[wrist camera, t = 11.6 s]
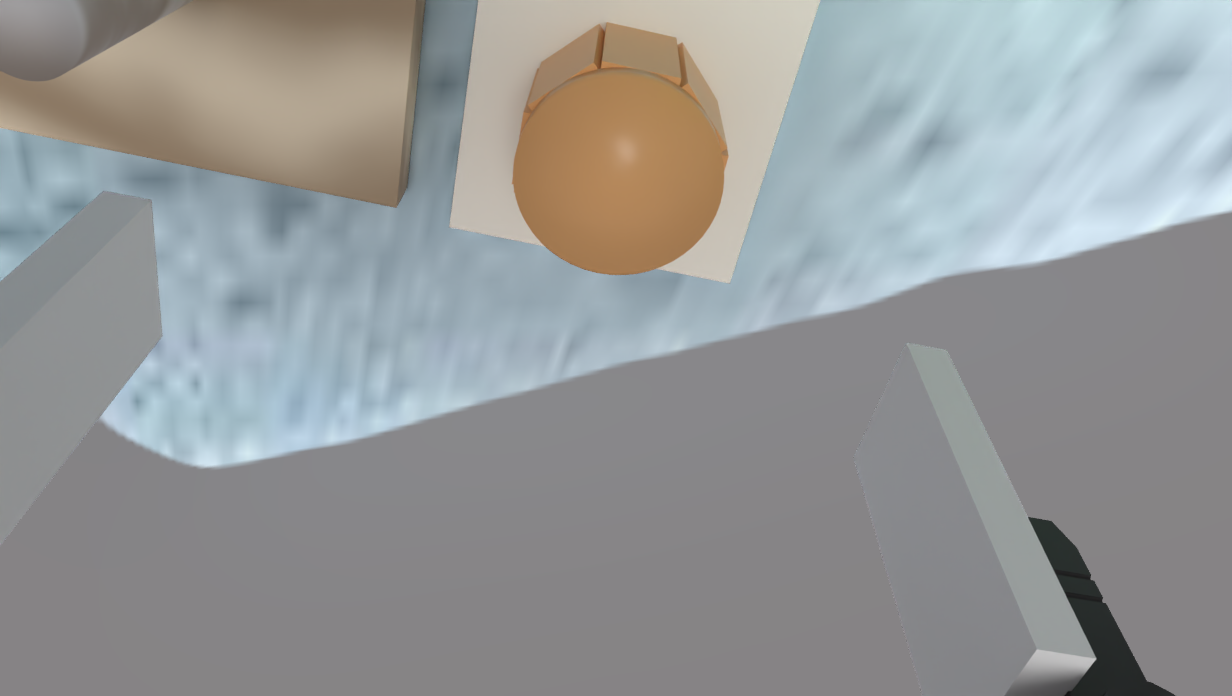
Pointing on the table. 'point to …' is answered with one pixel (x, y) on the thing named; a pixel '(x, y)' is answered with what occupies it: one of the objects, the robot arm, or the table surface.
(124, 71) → the post base
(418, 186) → the table surface
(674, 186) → the cap
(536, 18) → the pad
